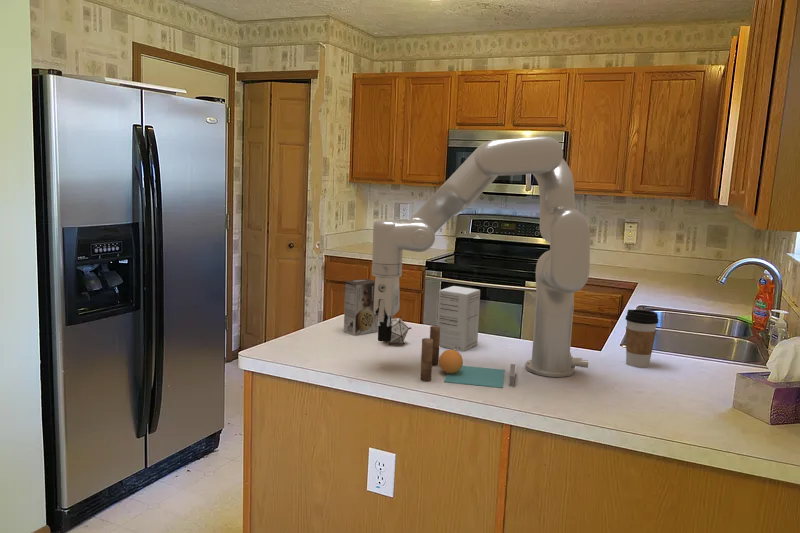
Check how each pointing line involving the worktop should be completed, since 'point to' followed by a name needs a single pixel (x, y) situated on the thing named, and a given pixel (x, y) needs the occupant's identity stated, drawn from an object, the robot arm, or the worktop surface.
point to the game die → (398, 330)
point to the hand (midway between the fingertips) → (384, 340)
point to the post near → (426, 359)
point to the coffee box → (360, 307)
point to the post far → (435, 344)
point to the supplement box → (458, 317)
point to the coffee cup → (640, 337)
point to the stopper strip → (512, 375)
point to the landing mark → (477, 376)
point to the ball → (450, 361)
